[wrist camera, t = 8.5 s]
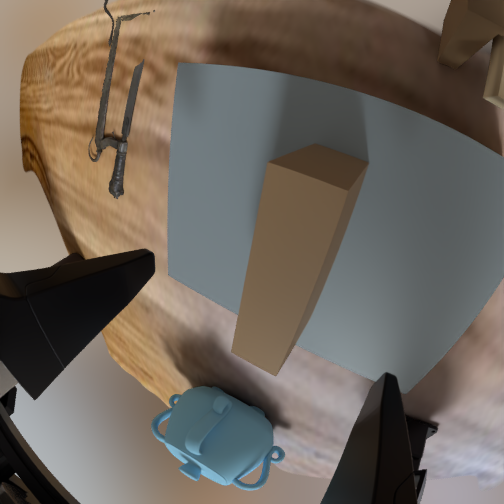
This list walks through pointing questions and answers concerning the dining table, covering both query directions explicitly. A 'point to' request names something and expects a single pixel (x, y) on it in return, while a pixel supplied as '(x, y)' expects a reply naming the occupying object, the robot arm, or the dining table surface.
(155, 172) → the dining table surface
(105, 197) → the dining table surface
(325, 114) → the lid
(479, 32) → the toolbox
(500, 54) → the wooden key
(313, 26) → the dining table surface
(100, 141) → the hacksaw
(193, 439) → the decorative pot
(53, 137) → the dining table surface
